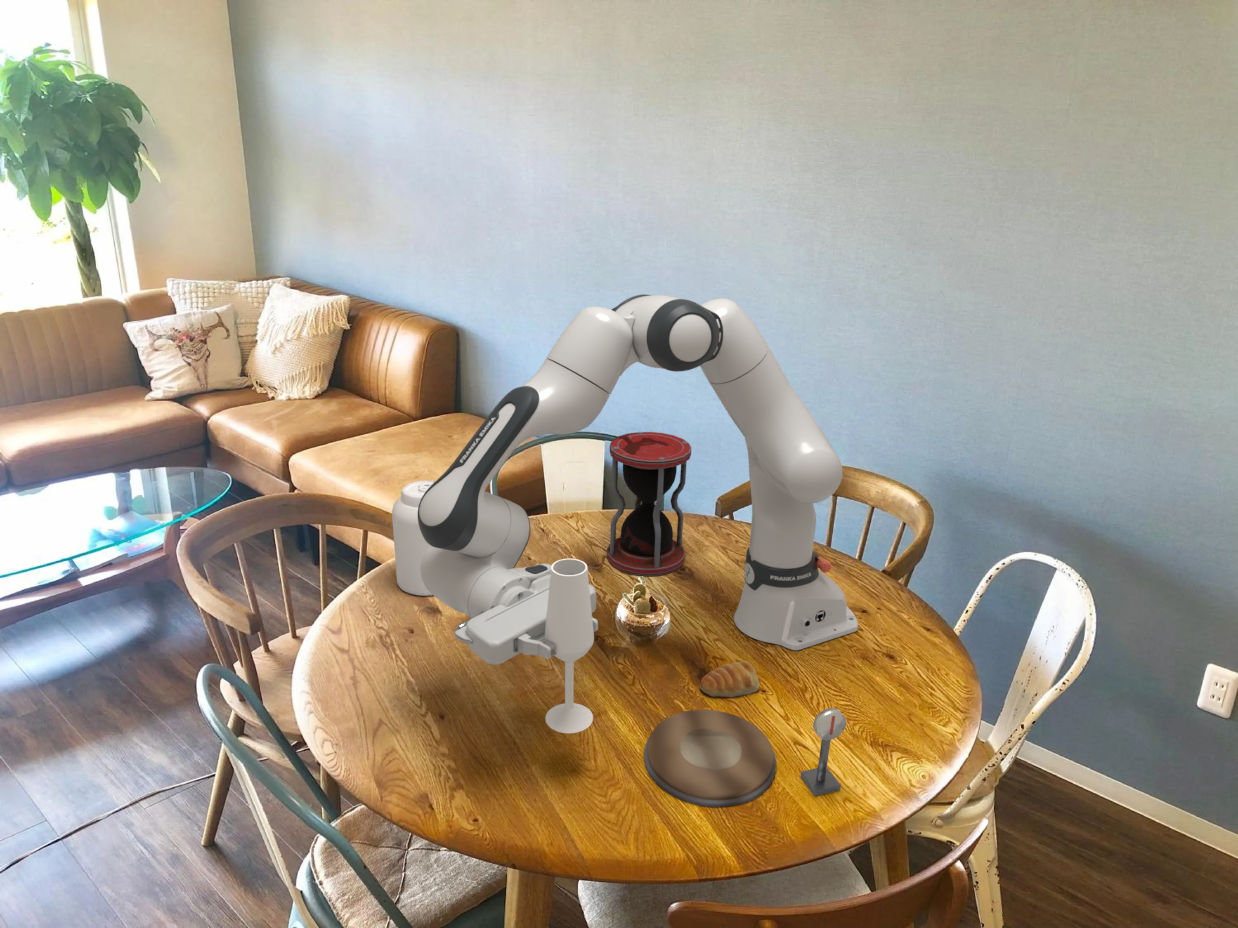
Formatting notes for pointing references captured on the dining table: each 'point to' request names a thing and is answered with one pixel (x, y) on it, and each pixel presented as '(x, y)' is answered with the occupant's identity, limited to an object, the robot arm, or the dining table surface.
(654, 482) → the hourglass
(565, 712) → the champagne flute
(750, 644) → the dining table surface
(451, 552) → the robot arm
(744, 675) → the pastry
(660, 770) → the turntable
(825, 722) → the dial gauge
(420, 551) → the can
